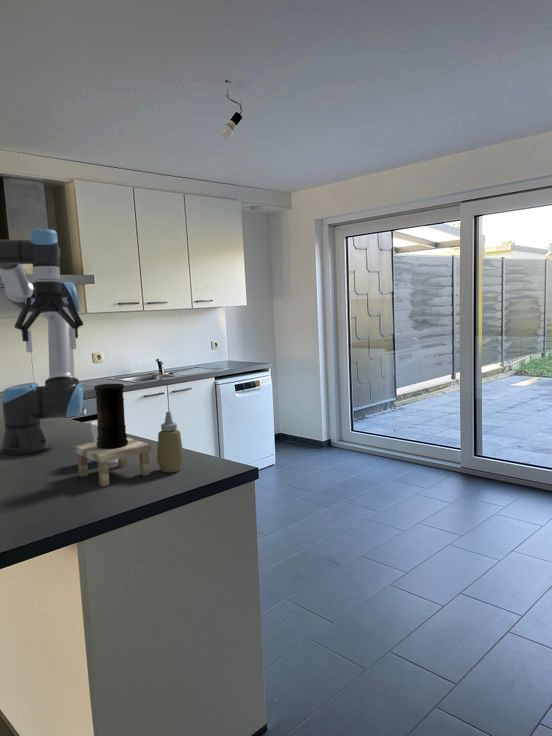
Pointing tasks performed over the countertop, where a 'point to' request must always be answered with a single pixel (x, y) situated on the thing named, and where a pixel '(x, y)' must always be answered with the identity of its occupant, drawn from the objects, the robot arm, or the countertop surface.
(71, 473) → the countertop surface
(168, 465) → the squeeze bottle
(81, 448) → the beige flat-topped legged fixture
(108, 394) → the container
